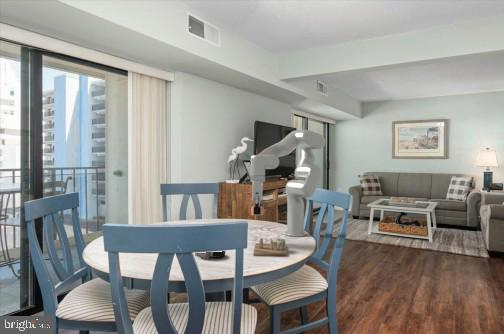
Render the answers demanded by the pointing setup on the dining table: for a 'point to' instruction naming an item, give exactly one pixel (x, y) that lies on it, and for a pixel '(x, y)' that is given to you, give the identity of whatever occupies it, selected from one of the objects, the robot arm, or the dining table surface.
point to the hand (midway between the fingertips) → (257, 212)
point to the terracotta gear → (260, 211)
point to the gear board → (270, 248)
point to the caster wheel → (210, 254)
